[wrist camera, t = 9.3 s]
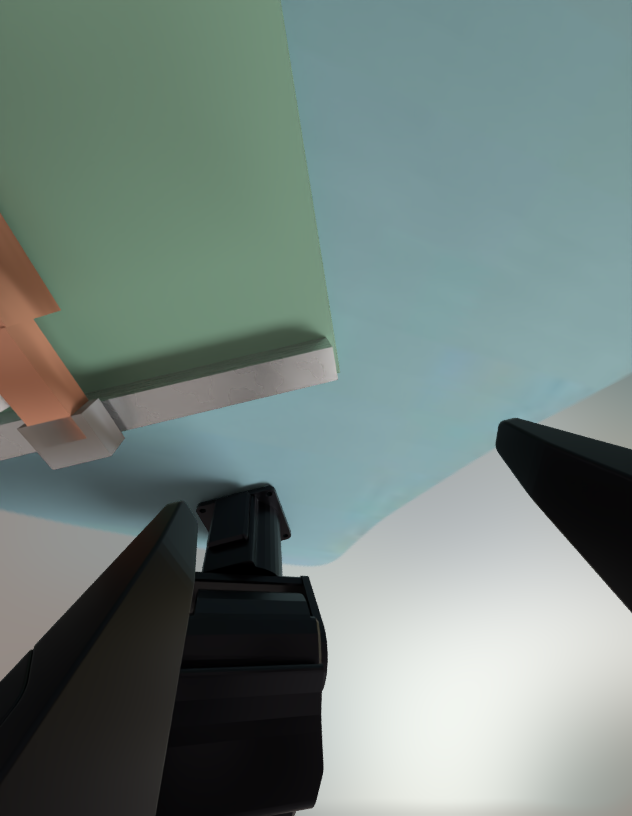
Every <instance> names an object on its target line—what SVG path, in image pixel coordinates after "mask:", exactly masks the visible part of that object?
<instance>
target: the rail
mask: <svg viewBox="0 0 632 816" xmlns="http://www.w3.org/2000/svg"><path fill="white" fill-rule="evenodd" d="M335 380H338V377H337V371H336V365H335V359H334V353H333V347H332V345H331V344H330V342H329V341H328V339H327V338H326V337H324V338H319V339H315V340H311V341H307V342H302V343H298V344H294V345H289V346H285V347H281V348H277V349H272V350H268V351H264V352H260V353H255V354H251V355H247V356H242V357H238V358H234V359H230V360H225V361H221V362H217V363H213V364H208V365H204V366H200V367H195V368H191V369H187V370H183V371H178V372H174V373H170V374H166V375H161V376H157V377H153V378H148V379H144V380H140V381H136V382H131V383H127V384H123V385H119V386H114V387H110V388H106V389H101V390H97V391H93V392H89V393H84V394H85V396H86V397H87V398H88V400H93V399H97V398H99V400H100V401H101V403H102V404H103V406H104V407H105V409H106V410H107V412H108V413H109V415H110V416H111V418H112V419H113V421H114V422H115V424H116V425H117V427H118V428H119V430H120V431H121V432H122V431H126V430H130V429H134V428H138V427H142V426H147V425H151V424H155V423H159V422H163V421H167V420H172V419H176V418H180V417H184V416H188V415H193V414H197V413H201V412H205V411H209V410H213V409H218V408H222V407H226V406H230V405H234V404H239V403H243V402H247V401H251V400H255V399H259V398H264V397H268V396H272V395H276V394H280V393H284V392H289V391H293V390H297V389H301V388H305V387H310V386H314V385H318V384H322V383H326V382H330V381H335ZM23 424H24V422H23V421H22V419H21V418H20V417H19V416H18V415H17V414H16V412H15V411H14V410H12V411H7V412H3V413H0V460H5V459H9V458H13V457H17V456H21V455H25V454H30V453H34V452H37V451H36V450H35V449H34V448H33V447H32V446H31V445H30V443H29V442H28V441H27V440H26V439H25V438H24V437H23V436H22V434H21V433H20V432H19V431H18V430H17V428H19V427H20V426H21V425H23Z"/></svg>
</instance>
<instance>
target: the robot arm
mask: <svg viewBox="0 0 632 816" xmlns="http://www.w3.org/2000/svg"><path fill="white" fill-rule="evenodd" d="M496 449H497V451H498V453H499V454H500V456H501V457H502V459H503V460H504V461H505V463H506V464H507V465H508V467H509V468H510V469H511V471H512V473H513V474H514V475H515V477H516V478H517V479H518V481H519V482H520V484H521V485H522V486H523V488H524V489H525V491H526V492H527V493H528V494H529V496H530V497H531V498H532V499H533V501H534V502H535V503H536V504H537V505H538V506H539V508H540V509H541V510H542V511H543V512H544V513H545V515H546V516H547V517H548V518H549V519H550V520H551V521H552V522H553V524H554V525H555V526H556V527H557V528H558V529H559V531H560V532H561V533H562V534H563V535H564V536H565V537H566V538H567V540H568V541H569V542H570V543H571V544H572V545H573V546H574V548H575V549H577V551H578V552H579V553H580V554H581V556H582V557H583V558H584V559H585V560H586V561H587V562H588V564H589V565H590V566H591V567H592V568H593V569H594V570H595V572H596V573H597V574H598V575H599V576H600V577H601V578H602V580H603V581H604V582H605V583H606V584H607V585H608V586H609V587H610V589H611V590H612V591H613V592H614V593H615V594H616V595H617V597H618V598H619V599H620V600H621V601H622V602H623V603H624V604H625V606H626V607H627V608H628V609H629V610H630V611H631V613H632V450H631V449H628V448H624V447H621V446H617V445H613V444H610V443H606V442H603V441H599V440H595V439H591V438H587V437H584V436H581V435H577V434H573V433H570V432H566V431H563V430H559V429H555V428H551V427H548V426H544V425H541V424H537V423H533V422H530V421H526V420H522V419H519V418H512V419H508V420H504V421H501V422H500V424H499V426H498V432H497V438H496ZM268 492H270V493H268ZM196 512H197V514H198V515H199V517H200V519H201V520H202V522H203V524H204V525H205V527H206V529H207V530H208V532H209V535H208V540H207V548H206V553H205V558H204V563H203V567H202V572H195V565H196V550H197V534H198V524H197V520H196V518H195V516H194V515H193V513H192V511H191V510H190V508H189V507H188V505H187V503H186V502H185V501H177V502H173V503H170V504H167V505H166V506H165V507H164V508H163V509H162V510H161V511H160V512H159V514H158V515H157V516H156V517H155V518H154V519H153V520H152V521H151V522H150V523H149V524H148V525H147V526H146V527H145V528H144V530H143V531H142V532H141V533H140V534H139V535H138V536H137V537H136V538H135V539H134V540H133V541H132V542H131V544H129V545H128V547H127V548H126V549H125V550H124V551H123V552H122V553H121V554H120V555H119V556H118V557H117V558H116V559H115V560H114V561H113V563H112V564H111V565H110V566H109V567H108V568H107V569H106V570H105V571H104V572H103V573H102V574H101V575H100V577H98V579H97V580H96V581H95V582H94V583H93V584H92V585H91V586H90V587H89V588H88V589H87V590H86V591H85V592H84V593H83V594H82V596H81V597H80V598H79V599H78V600H77V601H76V602H75V603H74V604H73V605H72V606H71V607H70V608H69V610H67V612H66V613H65V614H64V615H63V616H62V617H61V618H60V619H59V620H58V621H57V622H56V623H55V624H54V625H53V626H52V627H51V629H50V630H49V631H48V632H47V633H46V634H45V635H44V636H43V637H42V638H41V639H40V640H39V641H38V642H37V644H36V645H35V646H34V649H33V650H30V651H29V652H28V653H27V654H26V655H25V656H24V657H23V658H22V659H21V660H20V661H19V663H18V664H17V665H16V666H15V667H14V668H13V669H12V670H11V671H10V672H9V673H8V674H7V675H6V676H5V677H4V678H3V679H2V680H1V681H0V816H294V815H295V813H296V811H299V810H304V809H310V808H313V807H314V805H315V803H316V800H317V795H318V791H319V788H320V784H321V779H322V775H323V749H322V725H321V701H322V690H323V688H324V685H325V681H326V675H327V663H328V658H327V657H328V652H327V640H326V633H325V629H324V625H323V622H322V619H321V615H320V612H319V609H318V605H317V602H316V599H315V596H314V593H313V589H312V586H311V583H310V580H309V577H308V576H300V577H286V576H282V555H281V541H282V540H286V539H289V538H290V537H291V531H290V528H289V525H288V523H287V520H286V517H285V514H284V512H283V509H282V506H281V504H280V501H279V498H278V496H277V493H276V490H275V488H274V487H272V486H266V487H262V488H258V489H254V490H250V491H246V492H242V493H238V494H234V495H230V496H226V497H222V498H218V499H214V500H210V501H206V502H202V503H200V504H198V506H197V509H196Z"/></svg>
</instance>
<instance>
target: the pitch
mask: <svg viewBox="0 0 632 816" xmlns="http://www.w3.org/2000/svg"><path fill="white" fill-rule="evenodd" d="M0 213H1V215H2V216H3V218H4V220H5V221H6V223H7V224H8V226H9V228H10V229H11V231H12V232H13V234H14V236H15V237H16V239H17V240H18V242H19V244H20V245H21V247H22V248H23V250H24V252H25V253H26V255H27V256H28V258H29V260H30V261H31V263H32V264H33V266H34V268H35V269H36V271H37V272H38V274H39V276H40V277H41V279H42V280H43V282H44V284H45V285H46V287H47V288H48V290H49V292H50V293H51V295H52V296H53V298H54V300H55V301H56V303H57V304H58V306H59V308H60V309H61V311H57V312H54V313H51V314H48V315H44V316H41V317H38V318H35V319H34V321H35V322H36V324H37V325H38V327H39V328H40V330H41V331H42V333H43V334H44V335H45V337H46V338H47V340H48V341H49V343H50V344H51V346H52V347H53V349H54V350H55V352H56V353H57V355H58V356H59V357H60V359H61V360H62V362H63V363H64V365H65V366H66V368H67V369H68V371H69V372H70V374H71V375H72V376H73V378H74V379H75V381H76V382H77V384H78V385H79V387H80V388H81V390H82V391H83V393H89V392H93V391H97V390H101V389H106V388H110V387H114V386H119V385H123V384H127V383H131V382H136V381H140V380H144V379H148V378H153V377H157V376H161V375H166V374H170V373H174V372H178V371H183V370H187V369H191V368H195V367H200V366H204V365H208V364H213V363H217V362H221V361H225V360H230V359H234V358H238V357H242V356H247V355H251V354H255V353H260V352H264V351H268V350H272V349H277V348H281V347H285V346H289V345H294V344H298V343H302V342H307V341H311V340H315V339H319V338H324V337H326V338H327V339H328V341H329V342H330V344H331V345H332V347H333V353H334V359H335V365H336V371H337V373H340V369H339V363H338V356H337V350H336V344H335V338H334V331H333V325H332V319H331V313H330V306H329V300H328V294H327V288H326V281H325V275H324V269H323V263H322V256H321V250H320V244H319V238H318V231H317V225H316V219H315V213H314V206H313V200H312V194H311V188H310V181H309V175H308V169H307V163H306V156H305V150H304V144H303V138H302V131H301V125H300V119H299V113H298V106H297V100H296V94H295V88H294V81H293V75H292V69H291V63H290V56H289V50H288V44H287V38H286V31H285V25H284V19H283V13H282V7H281V0H0ZM12 410H13V409H12V408H11V406H10V407H8V408H6V409H5V410H3V411H2V412H0V413H3V412H7V411H12Z"/></svg>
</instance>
